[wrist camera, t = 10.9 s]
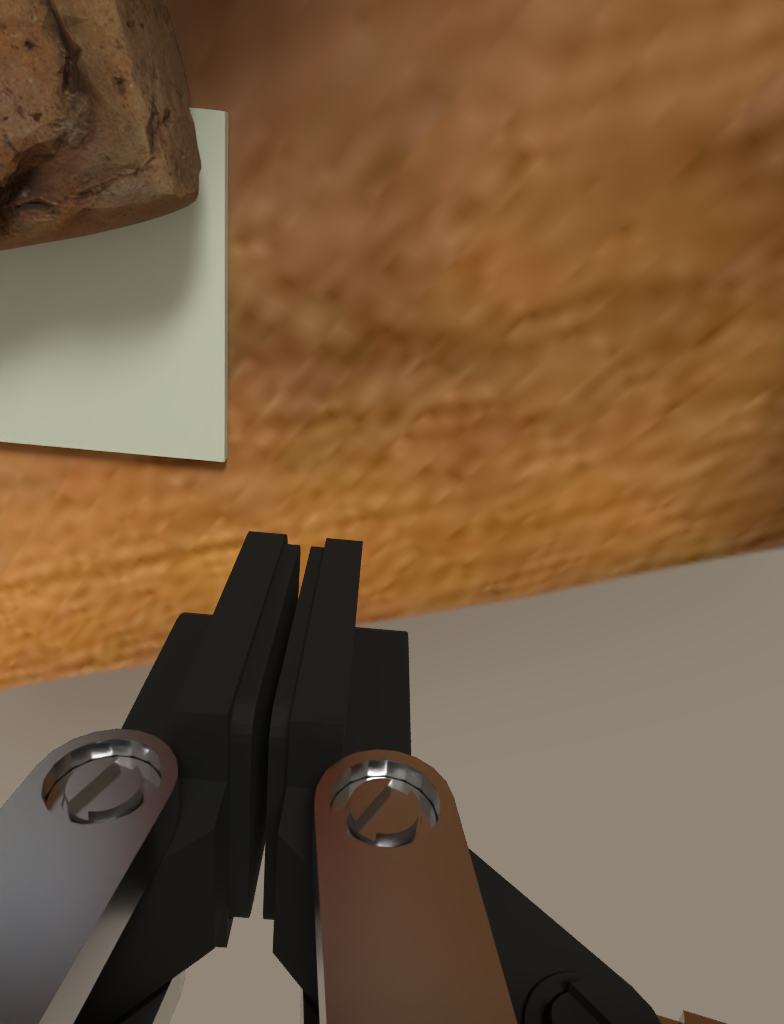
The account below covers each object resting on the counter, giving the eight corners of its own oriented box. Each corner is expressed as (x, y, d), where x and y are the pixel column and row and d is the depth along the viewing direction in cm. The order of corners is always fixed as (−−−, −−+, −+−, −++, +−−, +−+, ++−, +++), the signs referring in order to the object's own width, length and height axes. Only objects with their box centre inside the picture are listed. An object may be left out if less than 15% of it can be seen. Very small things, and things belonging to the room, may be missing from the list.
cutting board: (228, 112, 33) (224, 111, 32) (227, 457, 40) (224, 462, 39) (-216, 64, 32) (-230, 61, 32) (-138, 423, 39) (-148, 428, 39)
